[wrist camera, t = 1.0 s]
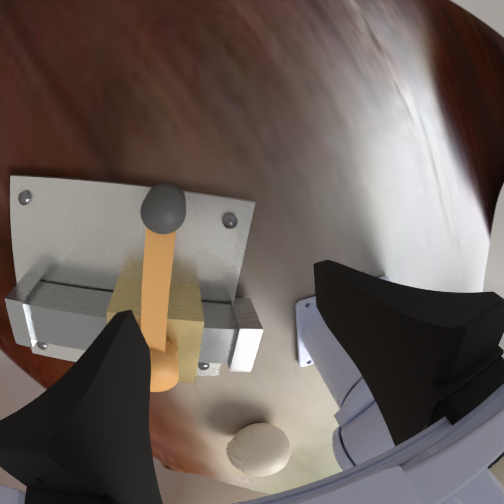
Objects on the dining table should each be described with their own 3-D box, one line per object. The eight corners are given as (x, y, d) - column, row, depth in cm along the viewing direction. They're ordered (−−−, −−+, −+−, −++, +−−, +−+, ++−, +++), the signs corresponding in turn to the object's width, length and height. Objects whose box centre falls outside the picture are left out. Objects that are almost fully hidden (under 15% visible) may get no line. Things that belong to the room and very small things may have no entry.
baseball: (224, 416, 29) (235, 465, 23) (286, 409, 31) (304, 454, 25) (220, 444, 31) (230, 487, 26) (275, 438, 33) (290, 478, 27)
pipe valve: (252, 289, 23) (268, 325, 19) (238, 345, 25) (250, 383, 20) (25, 262, 18) (-1, 292, 13) (35, 321, 19) (16, 356, 15)
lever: (176, 373, 18) (177, 394, 17) (129, 369, 17) (127, 390, 16) (201, 186, 14) (203, 194, 12) (136, 178, 13) (129, 184, 11)
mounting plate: (253, 200, 20) (256, 203, 20) (217, 371, 26) (218, 378, 25) (14, 174, 15) (8, 176, 14) (34, 348, 21) (31, 354, 20)
